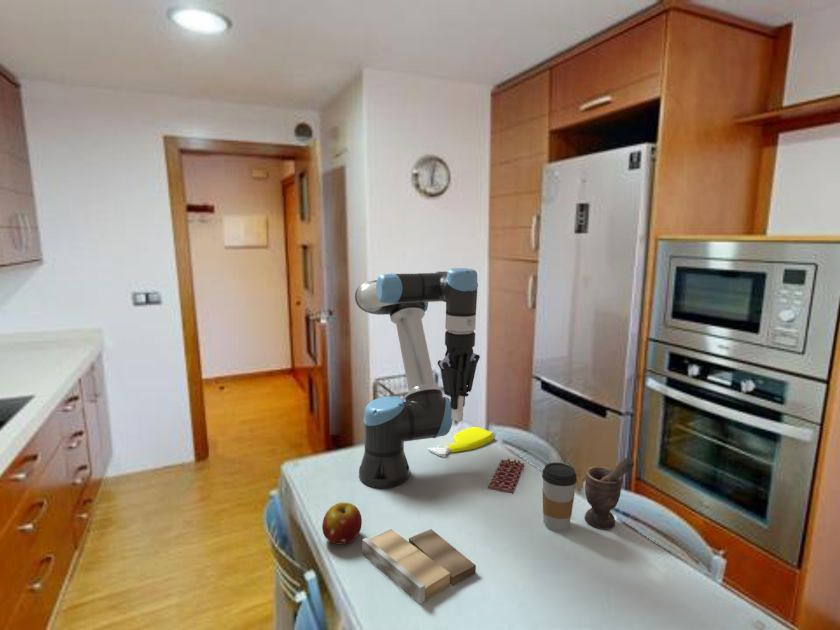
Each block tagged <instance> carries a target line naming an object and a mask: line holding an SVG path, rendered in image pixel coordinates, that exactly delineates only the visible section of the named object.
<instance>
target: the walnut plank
mask: <svg viewBox="0 0 840 630" xmlns="http://www.w3.org/2000/svg"><path fill="white" fill-rule="evenodd" d="M408 542H409V543H411V544H412V545H413V546H415V547H416V548H417V549H419V550H420V551H421V552H423V553H424V554H425V555H427V556H428V557H429V558H431V559H432V560H433V561H435V562H436V563H437V564H439V565H440V566H442V567H443V568H444V569H446V570H447V571H448V572H450V585H449V586H451V587H452V586H455V585H457V584H459V583H461V582H463V581H464V580H467V579H469V578H470V577H473V576H475V575H476V572H477V570H476V569H477V568H476V567H477V566H476V565H477V564H475V563H474V562H472V561H471V560H470V559H469V558H468V557H466V556H465V555H464V554H463V553H462V552H460V551H459V550H458V549H456V547H454V546H453V545H451V543H449V542H448V541H447V540H445V539H444V538H443V537H441V535H440V534H438V533H437V532H435V531H434V530H433V529H432V528H430V529H428V530H425V531H422V532H421V533H418V534H415V535H413V536H411V537H408Z"/></svg>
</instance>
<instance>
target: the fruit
mask: <svg viewBox="0 0 840 630" xmlns="http://www.w3.org/2000/svg"><path fill="white" fill-rule="evenodd" d="M322 520H323V521H322V526H321V528H322V534H323V536H324V537H325V539H326V540H327V541H329V542H330V543H334V544H338V545H343V544H344V545H345V544H349V543H351V542H353V541H354V540H355V539H356V538H357V537H358V536H359V534H360V533H361V530H362V525H363V519H362V514H361V511H360V510H359V508H358V507H357V506H356V505H354V504H353V503H350V502H346V501H345V502H344V501H343V502H338V503H335V504H334V505H331V507H330V508H329V509H328V510H327V512H326V513H325V514H324V517H323V519H322Z"/></svg>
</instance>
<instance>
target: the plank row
mask: <svg viewBox="0 0 840 630" xmlns="http://www.w3.org/2000/svg"><path fill="white" fill-rule="evenodd" d="M361 544H362V547H361V549H362V550H361V551H362V555H363V556H364V557H365V558H366V559H368V560H369V561H370V562H371V563H372V564H374V566H376V567H377V568H378V569H379V570H380V571H381V572H382V573H384V574H385V575H386V576H387V577H388V578H389V579H390V580H392V581H393V582H394V583H395V584H396V585H397V586H398V587H399V588H401V589H402V590H403V591H404V592H406V594H408V595H409V596H410V597H411V598H412V599H413V600H415V601H416V602H417V603H418V604H419V605H420V604H423V603H424V602H426V601H427V600H428V599H430V598H432V597H433V596H435V595H437V594H439V593H440V592H441V591H444V589H447V587H449V586H451V585H450V572H448V571H447V570H446V569H444V568H443V567H442V566H440V565H439V564H437V563H436V562H435V561H433V560H432V559H431V558H429V557H428V556H427V555H425V554H424V553H423V552H421V551H420V550H419V549H417V548H416V547H415V546H413V545H412V544H411V543H409V540H407V539H405V538H404V537H403V536H401V535H400V534H399V533H397V532H396V531H394V530H393V529H392V528H390V529H388V530H386V531H383V532H382V533H380V534H377V535H376V536H374V537H371V538H368V537H365V538H362V543H361Z"/></svg>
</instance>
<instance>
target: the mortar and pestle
mask: <svg viewBox="0 0 840 630" xmlns="http://www.w3.org/2000/svg"><path fill="white" fill-rule="evenodd" d="M634 466H635V462H634V460H633V459H632V458H631V457H630V456H629V457H628V456H627V457H623V458H622V459H621V460H620V461H619V462H618V463H617V465H616V466H615V468H614V469H613V468H611V467H606V466H604V465H603V466H602V465H593V466H590V467H588V468H587V469H586V471H585V481H584V482H585V483H584V492H585V497H586V501H587V503H588V505H590V508H589V509H588V510H586V512H585V515H584V521H585V522H586V523H587V524H588V525H589V526H591V527H593V528H597V529H602V530H603V529H606V530H607V529H609V530H610V529H613V528H614V527H615V526H616V519H615V516H614V515H613V513H612V512H611V511H612V510H614V509H615V508H616V507H617V506H618V503H619V501H620V498H621V492H622V491H621V490H622V484H623V476H624V475H625V474H627V473H628V472H630V471H631V470H632V469H633V467H634Z"/></svg>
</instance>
